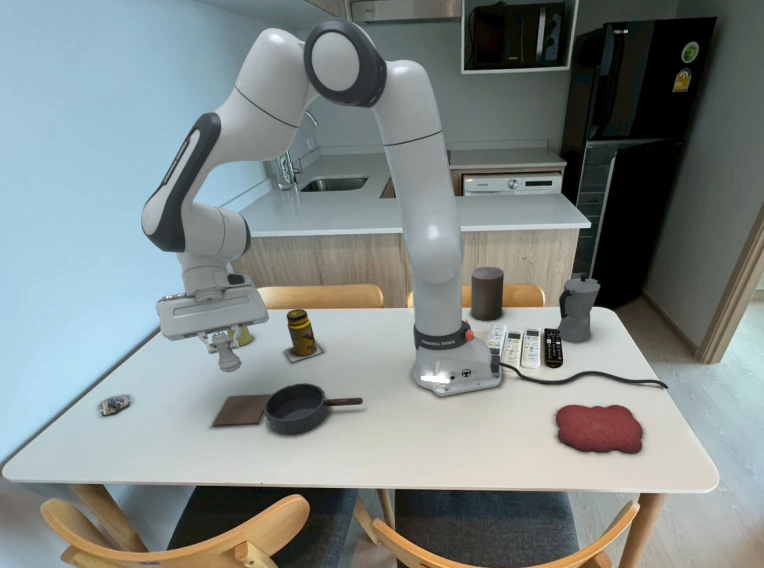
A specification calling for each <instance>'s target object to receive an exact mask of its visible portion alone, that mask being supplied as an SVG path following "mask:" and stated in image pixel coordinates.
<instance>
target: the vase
mask: <svg viewBox="0 0 764 568" xmlns="http://www.w3.org/2000/svg"><path fill="white" fill-rule="evenodd" d="M240 330H241V334H240V337H239V339H238V345H239V347H240V346H241V347H242V346H244V345H247V344H249V343H250V342H251V341H252V340H253V336H252V335H251V333H250V330H249V329H248V326H246V327H241V328H240ZM225 332H226V333H227V334H226V335H227V336H229V338H228V340H231V339H232V338H233V335H234V332H233V331H232V329H231V330H226V331H225Z"/></svg>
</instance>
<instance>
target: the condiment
mask: <svg viewBox="0 0 764 568" xmlns="http://www.w3.org/2000/svg"><path fill="white" fill-rule="evenodd" d="M286 319H287V329H288V332H289V337H290V339H291V343H292V347H289V348H286V349H284V350H283V351H284V352H285V354H286V356H287V357H288V358H289V360H290V361H291V363H294V362H298V361H299V360H302V359H306V358H309V357H312V356H313V357H314V356H316V355H319V354H322V351H321V349H320V348H319V347H318V345H317V343H316V339H315V334H314V330H313V327H312V322H311V319H310V318H309V316H308V312H307V310H305V309H303V308H297V309H292V310H290V311H288V312H287V313H286Z"/></svg>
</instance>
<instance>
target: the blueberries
mask: <svg viewBox="0 0 764 568" xmlns="http://www.w3.org/2000/svg"><path fill="white" fill-rule="evenodd" d="M129 403H130V400H129V397H128V396H119V397H118V396H117V397H111V398H108V399H107V400H105V401H103V402H102V403H101V409H100V410H99V411H100V414H101V416H106V415H111V414H112V413H116V412H117V411H119V410H121V409H122V408H123V407H127V406H129Z"/></svg>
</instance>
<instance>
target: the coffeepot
mask: <svg viewBox="0 0 764 568" xmlns="http://www.w3.org/2000/svg"><path fill="white" fill-rule="evenodd" d="M587 277H588V274H585V273H581V274H580V278H579V277H578V278H571V279H567V280H566V281H565V283H564V284H563V291H562V293H561V294H560V296H559V298H558V304H559V313H560V318H561V320H560V322H559V325H558V328H557V331H558V330H559V331H560V333H559V335H558V337H559V338H560V339H562V340H564V341H566V342H571V343H582V342H585V341H587V340H588V339H589V337H590V335H591V312H592V309H593V307H594V304H595V302H596V299H597V296H598V293H599V291H600V288H601V284H599V283H598V282H599V280H598V279H595V278H587Z"/></svg>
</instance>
